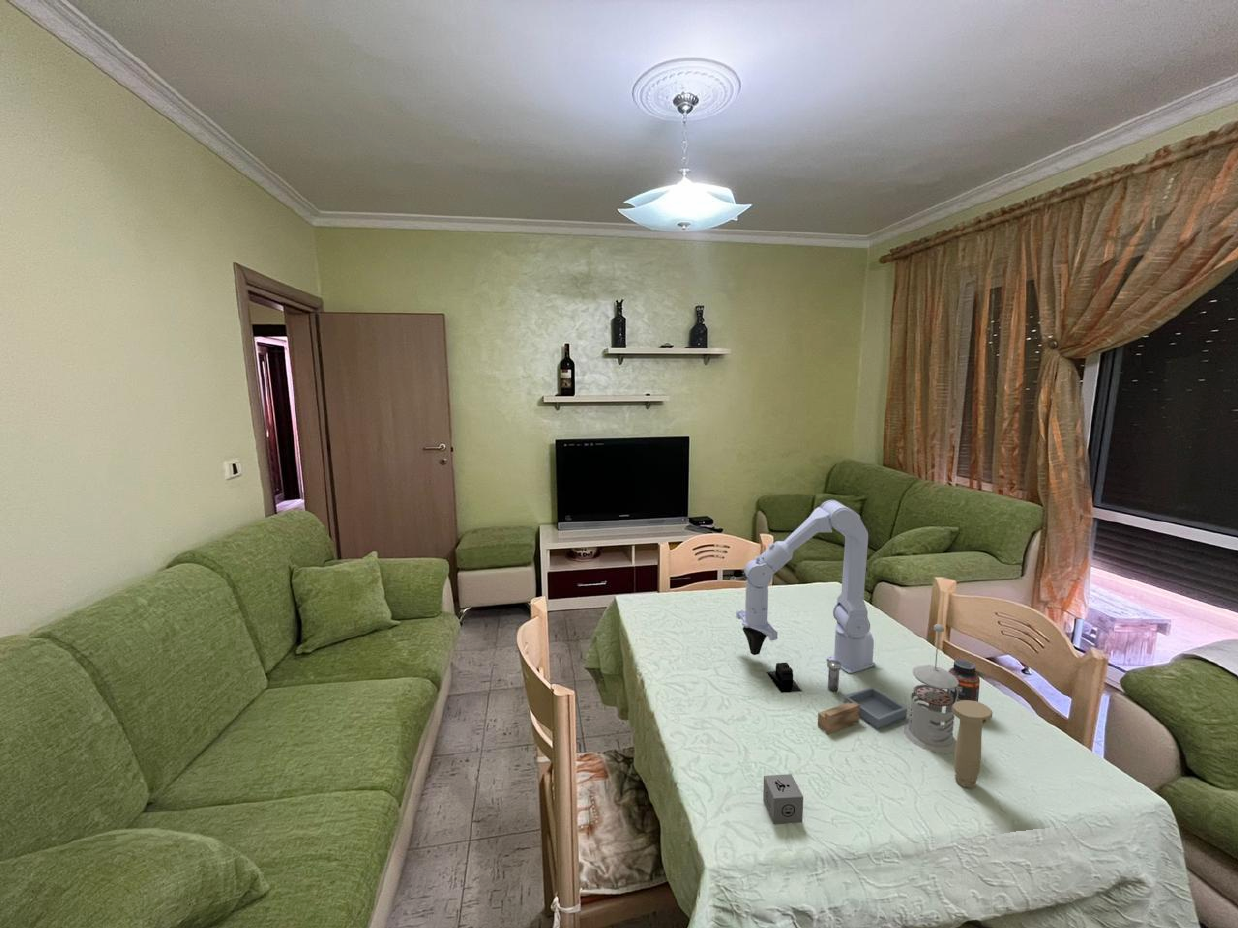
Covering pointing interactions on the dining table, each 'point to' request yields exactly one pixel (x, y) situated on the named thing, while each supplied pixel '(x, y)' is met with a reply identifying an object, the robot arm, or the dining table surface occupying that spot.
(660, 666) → the dining table surface
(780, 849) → the dining table surface
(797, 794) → the dice cube
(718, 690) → the dining table surface
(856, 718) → the bar
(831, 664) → the pin
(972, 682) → the supplement bottle
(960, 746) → the handle
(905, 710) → the tray
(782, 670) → the build plate
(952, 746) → the french press
